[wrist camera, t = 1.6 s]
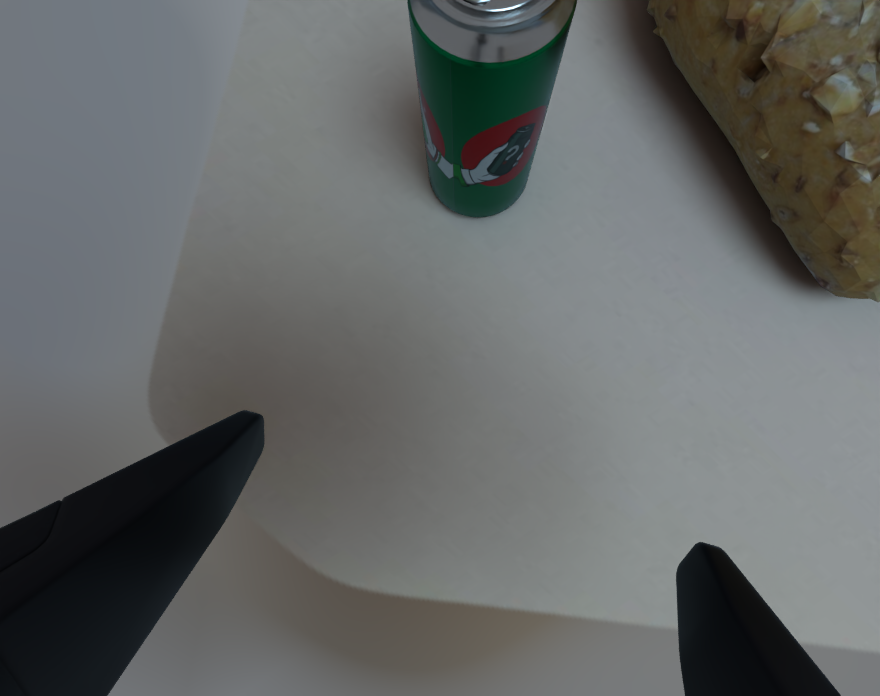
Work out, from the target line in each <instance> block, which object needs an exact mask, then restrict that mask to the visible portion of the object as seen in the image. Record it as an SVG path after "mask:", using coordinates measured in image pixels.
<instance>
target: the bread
mask: <svg viewBox="0 0 880 696" xmlns="http://www.w3.org/2000/svg"><path fill="white" fill-rule="evenodd" d="M647 11H648V12H649V13H650V14H651V15H652V16H653V17H654V18H655V21H656V24H657V27H656V28H655V30H654V31H653V32H654V33H655V34H657V35H658V36H660V37H662V38H663V40H664V42H665V44H666V46H667V48H668V50H669V52H670V54H671V56H672V59H673V63H674V64H675V65H676V66H677V67H678V69H679V70H680V71H681V72H682V74H683V75H684V77H685V79H686V80H687V82H688V83H689V85H690V87H691V88H692V90H693V91H694V92H695V94H696V95H697V97H698V98H699V99H700V101H701V102H702V104H703V105H704V106H705V108H706V109H707V110H708V112H709V113H710V115H711V116H712V117H713V119H714V120H715V122H716V123H717V124H718V126H719V127H720V129H721V130H722V131H723V133H724V134H725V136H726V137H727V139H728V140H729V142H730V143H731V145H732V146H733V148H734V150H735V151H736V153H737V155H738V157H739V158H740V160H741V162H742V164H743V166H744V167H745V170H746V171H747V173H748V175H749V177H750V178H751V180H752V182H753V184H754V185H755V187H756V189H757V190H758V192H759V194H760V195H761V197H762V198H763V200H764V202H765V203H766V205H767V206H768V208H769V209H770V211H771V220H772V221H773V222H774V223H775V224H776V225H778V226H779V227H780V228H781V229H782V231H783V232H784V234H785V236H786V237H787V239H788V241H789V242H790V244H791V246H792V247H793V249H794V251H795V252H796V253H797V255H798V256H799V257H800V259H801V260H802V261H803V263H804V264H805V265H806V267H807V268H808V269H809V271H810V272H811V273H812V275H813V276H814V278H815V279H816V280H817V282H818V283H819V284H820V286H821V287H823V288H825V289H826V290H828V291H830V292H831V293H833V294H834V295H836V296H840V297H846V298H858V299H872V300H874V301H876V302H880V0H649V4H648V7H647Z"/></svg>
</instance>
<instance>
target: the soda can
mask: <svg viewBox="0 0 880 696" xmlns="http://www.w3.org/2000/svg"><path fill="white" fill-rule="evenodd" d="M576 4H577V0H408V11H409V19H410V27H411V35H412V43H413V51H414V59H415V67H416V75H417V83H418V91H419V99H420V107H421V115H422V123H423V132H424V140H425V148H426V156H427V164H428V172H429V178H430V183H431V186H432V188H433V191H434V192H435V194H436V196H437V197H438V198H439V200H440V201H441V202H442V203H443V204H444V205H445V206H447V207H448V208H449V209H451V210H453V211H454V212H457V213H459V214H462V215H465V216H470V217H486V216H491V215H495V214H497V213H500V212H502V211H504V210H506V209H507V208H509V207H510V206H511V205H512V204H514V203H515V201H516V200H517V199H518V198H519V197H520V195H521V194H522V192H523V190H524V188H525V186H526V183H527V179H528V176H529V172H530V169H531V165H532V162H533V158H534V154H535V151H536V147H537V144H538V140H539V137H540V133H541V129H542V126H543V122H544V119H545V115H546V112H547V108H548V104H549V101H550V97H551V94H552V90H553V87H554V83H555V79H556V76H557V72H558V69H559V65H560V62H561V58H562V54H563V51H564V47H565V44H566V40H567V36H568V33H569V29H570V26H571V22H572V19H573V15H574V11H575V8H576Z"/></svg>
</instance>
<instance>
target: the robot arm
mask: <svg viewBox="0 0 880 696" xmlns="http://www.w3.org/2000/svg"><path fill="white" fill-rule="evenodd" d="M263 448H264V418H263V416H262V415H260V414H258V413H254V412H251V411H247V410H243V411H240V412H237V413H235V414H233V415H231V416H229V417H227V418H225V419H223V420H221V421H219V422H217V423H215V424H213V425H211V426H209V427H207V428H205V429H203V430H201V431H199V432H197V433H195V434H193V435H191V436H189V437H187V438H185V439H183V440H180V441H178V442H176V443H174V444H172V445H170V446H168V447H166V448H164V449H162V450H160V451H158V452H156V453H154V454H152V455H150V456H148V457H146V458H144V459H142V460H140V461H138V462H136V463H134V464H132V465H130V466H128V467H126V468H123V469H121V470H119V471H117V472H115V473H113V474H111V475H109V476H107V477H105V478H103V479H101V480H99V481H97V482H95V483H93V484H91V485H89V486H87V487H85V488H83V489H81V490H79V491H77V492H75V493H73V494H70V495H68V496H66V497H64V498H63V500H62V501H60V500H59V501H56V502H54V503H52V504H50V505H48V506H46V507H44V508H42V509H40V510H38V511H36V512H33V513H31V514H29V515H27V516H25V517H23V518H21V519H19V520H16V521H14V522H12V523H10V524H8V525H6V526H4V527H1V528H0V696H107V695H108V694H109V693H110V691H111V690H112V688H113V687H114V685H115V684H116V682H117V681H118V679H119V678H120V676H121V675H122V673H123V672H124V670H125V669H126V667H127V666H128V664H129V663H130V661H131V660H132V658H133V657H134V655H135V654H136V653H137V651H138V649H139V648H140V646H141V645H142V644H143V642H144V641H145V639H146V638H147V636H148V635H149V633H150V632H151V630H152V629H153V627H154V626H155V624H156V623H157V621H158V620H159V618H160V617H161V616H162V614H163V612H164V611H165V610H166V608H167V607H168V605H169V604H170V602H171V601H172V599H173V598H174V596H175V595H176V593H177V592H178V590H179V589H180V587H181V586H182V584H183V583H184V581H185V580H186V579H187V577H188V575H189V574H190V573H191V571H192V570H193V568H194V567H195V565H196V564H197V562H198V561H199V559H200V558H201V556H202V555H203V553H204V552H205V550H206V549H207V547H208V546H209V544H210V543H211V542H212V540H213V539H214V537H215V536H216V534H217V533H218V531H219V530H220V528H221V527H222V525H223V524H224V522H225V520H226V518H227V517H228V515H229V513H230V512H231V510H232V508H233V506H234V505H235V503H236V501H237V499H238V497H239V495H240V493H241V491H242V489H243V488H244V486H245V484H246V482H247V480H248V478H249V476H250V474H251V472H252V470H253V469H254V467H255V465H256V463H257V461H258V459H259V457H260V455H261V453H262V451H263ZM676 585H677V611H678V636H679V652H680V662H681V671H682V678H683V684H684V690H685V696H841V695H840V694H839V693H838V691H837V690H836V689H835V688H834V686H833V685H832V684H831V683H830V681H829V680H828V679H827V678H826V676H825V675H824V674H823V673H822V671H821V670H820V669H819V668H818V666H817V665H816V664H815V663H814V662H813V660H812V659H811V658H810V657H809V655H808V654H807V653H806V652H805V650H804V649H803V648H802V647H801V645H800V644H799V643H798V642H797V640H796V639H795V638H794V637H793V636H792V634H791V633H790V632H789V631H788V629H787V628H786V627H785V626H784V624H783V623H782V622H781V621H780V619H779V618H778V617H777V616H776V614H775V613H774V612H773V611H772V609H771V608H770V607H769V606H768V605H767V603H766V602H765V601H764V600H763V598H762V597H761V596H760V595H759V593H758V592H757V591H756V590H755V588H754V587H753V586H752V585H751V583H750V582H749V581H748V580H747V579H746V577H745V576H744V575H743V574H742V572H741V571H740V570H739V569H738V567H737V566H736V565H735V564H734V562H733V561H732V560H731V559H730V557H729V556H728V555H727V554H726V553H725V551H724V550H722V549H721V548H719V547H717V546H714V545H710V544H707V543H703V542H699V543H697V544H695V545H694V546H693V548H692V549H691V550H690V551H689V553H688V554H687V555H686V556H685V558H684V559H683V560H682V561H681V563H680V564H679V566H678V568H677V573H676Z"/></svg>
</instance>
